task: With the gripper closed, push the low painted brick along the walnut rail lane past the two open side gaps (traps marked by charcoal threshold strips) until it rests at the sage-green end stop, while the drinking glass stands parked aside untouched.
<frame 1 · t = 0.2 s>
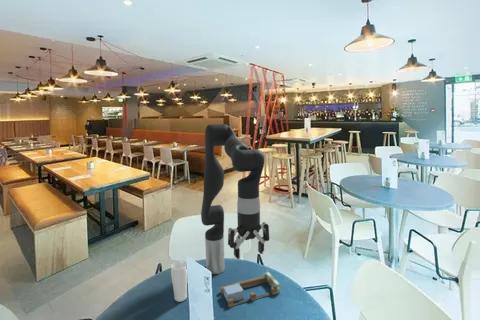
hand: (249, 255, 90), 29 cm above the table, fingers open, 8 cm apart
lane: (248, 292, 115), on the table
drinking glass: (180, 298, 113), on the table
brick: (233, 297, 113), on the table
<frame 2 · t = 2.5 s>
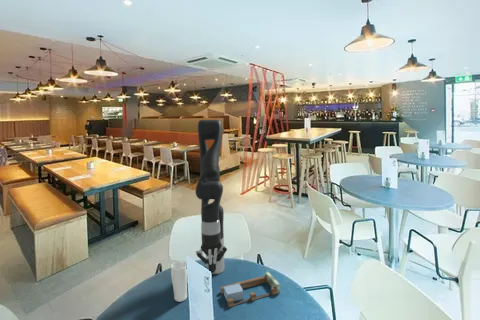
hand: (212, 271, 108), 14 cm above the table, fingers closed
nothing on the table moved.
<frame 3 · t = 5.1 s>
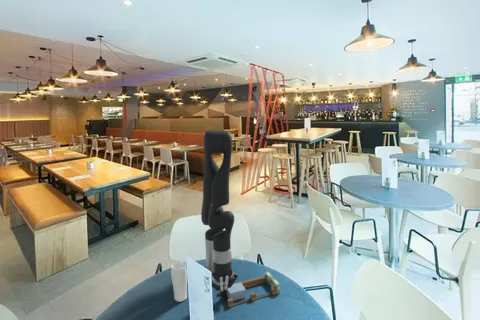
hand: (223, 297, 111), 1 cm above the table, fingers closed
brick: (235, 296, 114), on the table
everything else where it was.
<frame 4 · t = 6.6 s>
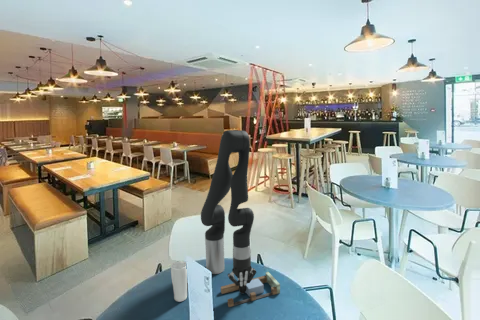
hand: (242, 292, 114), 1 cm above the table, fingers closed
brick: (253, 291, 117), on the table, touching gripper
everything else where it was.
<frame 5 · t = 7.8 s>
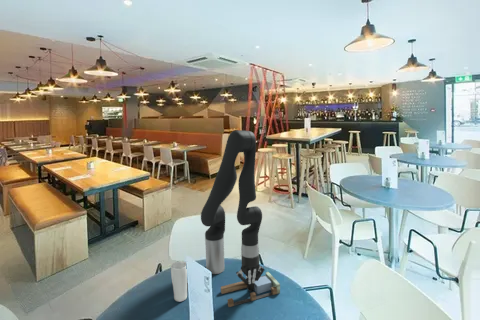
hand: (250, 290, 115), 1 cm above the table, fingers closed
brick: (261, 289, 118), on the table
everything else where it was.
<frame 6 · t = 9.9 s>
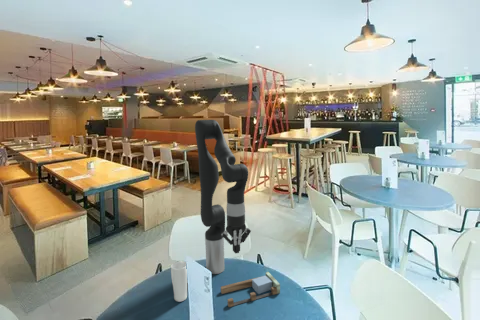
hand: (236, 252, 111), 20 cm above the table, fingers closed
nothing on the table moved.
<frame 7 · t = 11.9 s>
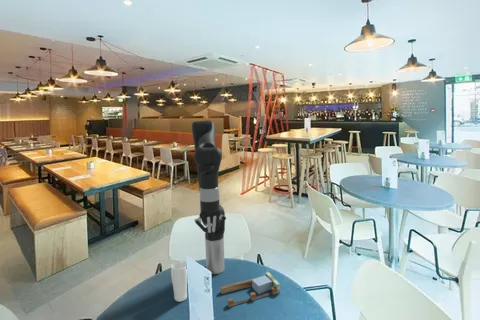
hand: (211, 240, 106), 27 cm above the table, fingers closed
nothing on the table moved.
at the end: brick inside the target area on the lane (0.8 cm from its centre), point 0.0 cm above the lane's base; brick tilted 0° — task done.
